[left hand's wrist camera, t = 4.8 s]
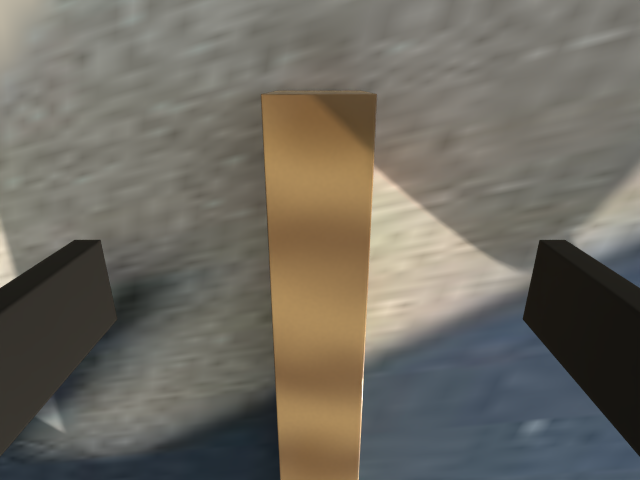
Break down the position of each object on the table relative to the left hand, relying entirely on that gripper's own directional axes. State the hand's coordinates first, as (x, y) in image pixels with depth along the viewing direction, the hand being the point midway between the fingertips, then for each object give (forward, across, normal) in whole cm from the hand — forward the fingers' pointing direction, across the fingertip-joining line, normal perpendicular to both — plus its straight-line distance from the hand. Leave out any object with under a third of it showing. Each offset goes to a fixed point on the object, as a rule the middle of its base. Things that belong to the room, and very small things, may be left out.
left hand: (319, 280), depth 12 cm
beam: (+16, 0, -28) cm, 33 cm away
